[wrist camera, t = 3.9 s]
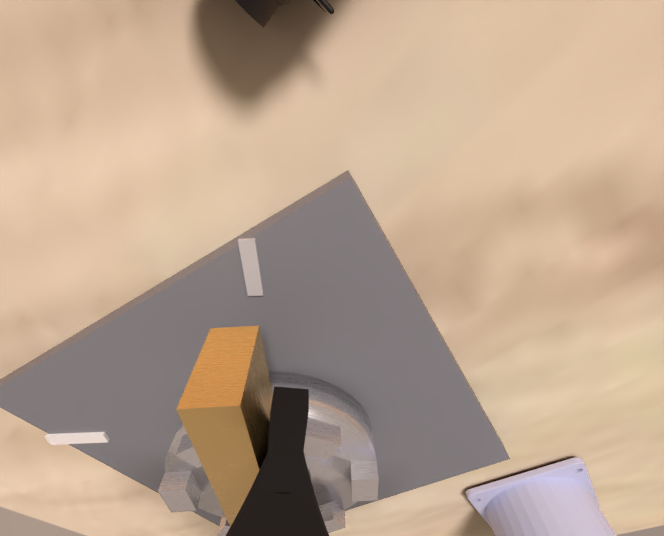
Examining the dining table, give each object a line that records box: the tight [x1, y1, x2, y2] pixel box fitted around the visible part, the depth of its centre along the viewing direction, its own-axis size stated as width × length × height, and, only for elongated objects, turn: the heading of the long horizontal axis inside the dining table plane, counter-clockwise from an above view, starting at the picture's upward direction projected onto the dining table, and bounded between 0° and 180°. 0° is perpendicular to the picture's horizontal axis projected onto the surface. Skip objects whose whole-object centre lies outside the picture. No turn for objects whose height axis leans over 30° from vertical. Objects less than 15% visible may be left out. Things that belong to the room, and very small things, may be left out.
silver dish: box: [158, 326, 379, 536], centre depth 14 cm, size 14×10×5 cm
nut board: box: [0, 171, 510, 526], centre depth 18 cm, size 20×20×1 cm
